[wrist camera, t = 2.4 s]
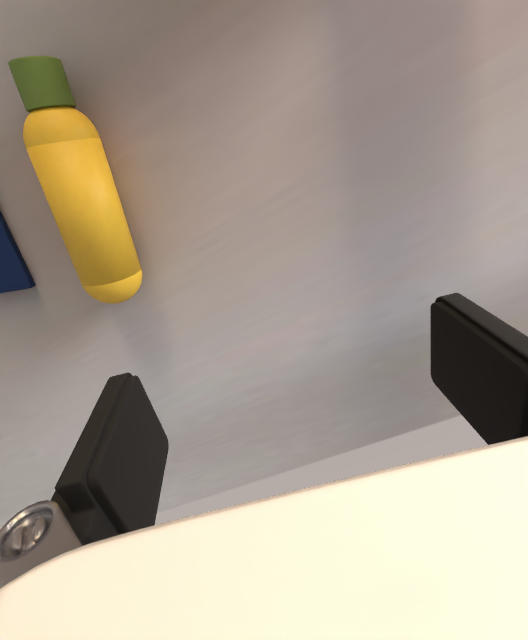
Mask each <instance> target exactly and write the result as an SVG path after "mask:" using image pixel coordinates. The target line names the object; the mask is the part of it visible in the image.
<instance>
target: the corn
mask: <svg viewBox="0 0 528 640" xmlns="http://www.w3.org/2000/svg"><path fill="white" fill-rule="evenodd" d="M8 65H9V67H10V70H11V73H12V75H13V78H14V80H15V83H16V85H17V88H18V91H19V93H20V96H21V98H22V101H23V103H24V106H25V109H26V111H27V112H30V114H29V115H28V117H27V118H26V121H25V123H24V128H23V139H24V143H25V147H26V150H27V152H28V154H29V157H30V159H31V162H32V164H33V167H34V169H35V172H36V174H37V176H38V179H39V181H40V184H41V186H42V189H43V191H44V194H45V196H46V199H47V201H48V203H49V206H50V208H51V211H52V213H53V216H54V218H55V221H56V223H57V226H58V228H59V230H60V233H61V235H62V238H63V240H64V243H65V245H66V248H67V250H68V253H69V255H70V257H71V260H72V262H73V265H74V267H75V270H76V272H77V275H78V277H79V280H80V282H81V284H82V286H83V288H84V289H85V291H86V292H87V293H88V294H89V295H90V296H91V297H93V298H94V299H96V300H98V301H101V302H104V303H120V302H124V301H126V300H128V299H129V298H131V297H132V296H133V295H134V294H135V293H136V292H137V291H138V289H139V287H140V285H141V281H142V270H141V266H140V263H139V259H138V256H137V253H136V250H135V247H134V244H133V241H132V237H131V234H130V231H129V228H128V225H127V222H126V218H125V215H124V212H123V209H122V206H121V203H120V199H119V196H118V193H117V190H116V187H115V184H114V180H113V177H112V174H111V171H110V168H109V165H108V161H107V158H106V155H105V152H104V149H103V146H102V142H101V139H100V137H99V134H98V132H97V130H96V128H95V127H94V125H93V124H92V122H91V121H90V120H89V119H88V118H87V117H86V116H85V115H84V114H82V113H81V112H80V111H78V110H76V109H75V108H74V107H76V104H75V101H74V98H73V95H72V92H71V89H70V86H69V83H68V80H67V77H66V74H65V71H64V68H63V65H62V62H61V60H60V59H58V58H55V57H50V56H28V57H21V58H17V59H13V60H11V61H9V63H8Z"/></svg>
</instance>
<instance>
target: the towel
mask: <svg viewBox="0 0 528 640" xmlns="http://www.w3.org/2000/svg"><path fill="white" fill-rule="evenodd" d="M34 286H35V283H34V281H33V279H32V277H31V275H30V273H29V270H28V268H27V266H26V264H25V262H24V260H23V258H22V256H21V254H20V251H19V249H18V247H17V245H16V243H15V241H14V239H13V237H12V235H11V232H10V230H9V228H8V226H7V224H6V222H5V220H4V218H3V216H2V213H1V211H0V293H4V292H10V291H16V290H22V289H28V288H32V287H34Z"/></svg>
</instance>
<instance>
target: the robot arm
mask: <svg viewBox="0 0 528 640" xmlns="http://www.w3.org/2000/svg"><path fill="white" fill-rule="evenodd" d="M431 377H432V380H433V382H434V383H435V385H436V386H437V387H438V388H439V389H440V391H441V392H442V393H443V394H444V395H445V396H446V397H447V399H448V400H449V401H450V402H451V403H452V404H453V405H454V406H455V408H456V409H457V410H458V411H459V412H460V413H461V414H462V416H463V417H464V418H465V419H466V420H467V421H468V422H469V423H470V425H471V426H472V427H473V428H474V429H475V430H476V431H477V433H478V434H479V435H480V436H481V437H482V438H483V439H484V440H485V442H486V443H487V444H488V445H486V446H482V447H478V448H473V449H470V450H465V451H460V452H456V453H452V454H448V455H444V456H439V457H435V458H430V459H427V460H422V461H418V462H413V463H409V464H405V465H401V466H396V467H392V468H388V469H384V470H379V471H375V472H371V473H367V474H363V475H359V476H354V477H350V478H346V479H342V480H337V481H333V482H329V483H325V484H321V485H317V486H313V487H308V488H304V489H300V490H296V491H292V492H288V493H283V494H279V495H275V496H271V497H267V498H263V499H259V500H255V501H251V502H247V503H243V504H238V505H234V506H230V507H226V508H222V509H218V510H214V511H210V512H206V513H202V514H198V515H194V516H190V517H186V518H182V519H178V520H174V521H170V522H166V523H162V524H159V525H154V524H155V519H156V514H157V508H158V503H159V497H160V492H161V486H162V481H163V475H164V470H165V465H166V459H167V454H168V439H167V436H166V434H165V432H164V430H163V428H162V426H161V424H160V421H159V419H158V417H157V415H156V413H155V411H154V409H153V407H152V404H151V402H150V400H149V398H148V396H147V394H146V392H145V390H144V388H143V385H142V383H141V381H140V379H139V378H138V376H132V375H131V374H130V373H125V374H121V375H116V376H112V377H110V378H109V379H108V381H107V383H106V385H105V387H104V389H103V391H102V393H101V395H100V397H99V399H98V401H97V403H96V405H95V407H94V409H93V411H92V413H91V416H90V418H89V420H88V422H87V424H86V426H85V428H84V430H83V432H82V434H81V436H80V438H79V440H78V442H77V444H76V446H75V448H74V450H73V452H72V454H71V456H70V458H69V460H68V462H67V464H66V466H65V468H64V470H63V472H62V474H61V476H60V478H59V480H58V482H57V484H56V486H55V489H56V491H55V493H54V495H53V497H52V499H51V501H49V500H46V501H40V502H37V503H35V504H32V505H30V506H28V507H26V508H25V509H23V510H21V511H20V512H18V513H17V514H16V515H15V516H14V517H12V518H11V519H10V520H9V521H8V522H7V523H6V524H5V525H4V526H3V527H2V528H1V529H0V640H528V337H527V336H526V335H524V334H522V333H521V332H519V331H518V330H516V329H515V328H513V327H511V326H510V325H508V324H507V323H505V322H503V321H502V320H500V319H499V318H497V317H496V316H494V315H492V314H491V313H489V312H488V311H486V310H485V309H483V308H481V307H480V306H478V305H477V304H475V303H473V302H472V301H470V300H469V299H467V298H466V297H464V296H462V295H461V294H459V293H453V294H449V295H445V296H441V297H438V298H437V299H436V301H435V303H433V304H432V305H431Z"/></svg>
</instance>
